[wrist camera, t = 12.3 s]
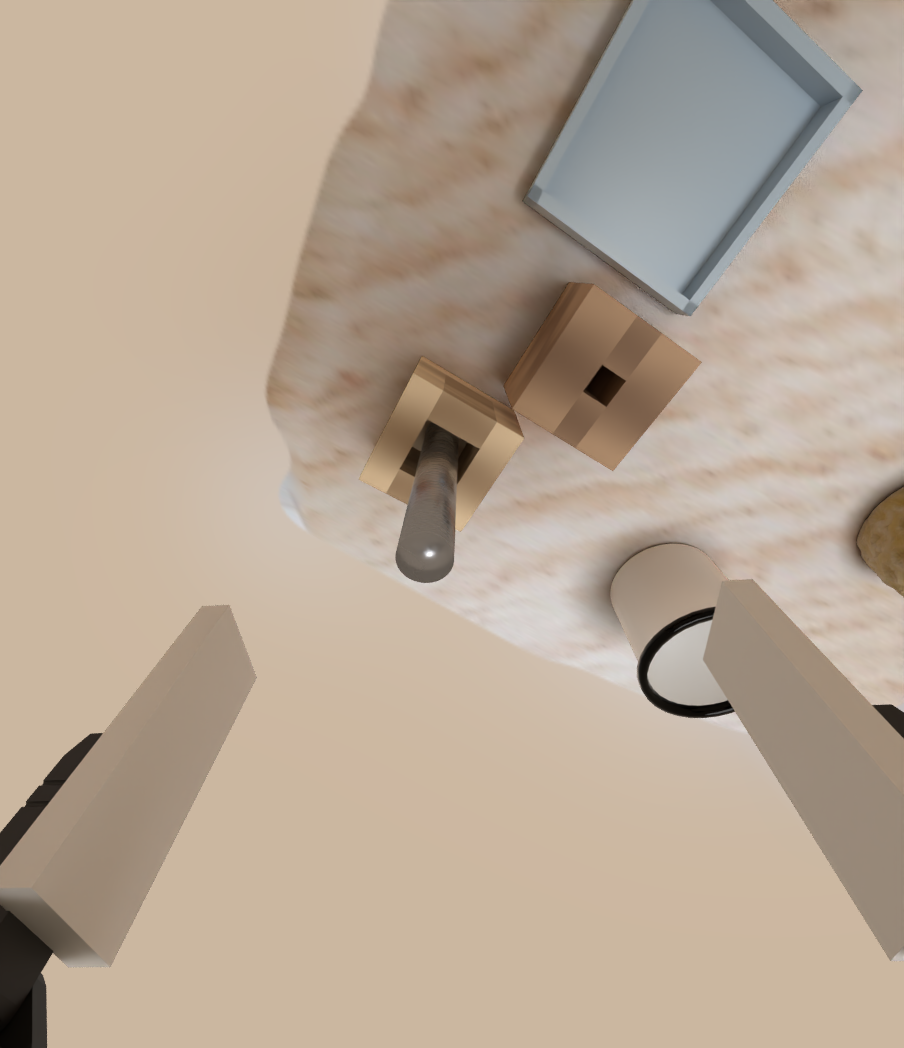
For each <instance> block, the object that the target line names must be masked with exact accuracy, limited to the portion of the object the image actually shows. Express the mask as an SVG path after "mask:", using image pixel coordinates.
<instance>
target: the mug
mask: <svg viewBox="0 0 904 1048" xmlns="http://www.w3.org/2000/svg"><path fill="white" fill-rule="evenodd" d="M722 581H729V580H728V579H727V578H726V576H725V575H724V574H723V573H722V572H721V571H720V569H719V568H718V567H717V566H716V565H715V564H714V563H713V561H712V560H711V559H710V558H709V557H708V556H707V554H705V553H704V552H702V551H701V550H699V549H697V548H695V547H692V546H689V545H684V544H664V545H658V546H655V547H652V548H648V549H646V550H644V551H642V552H640V553H638V554H636V555H635V556H634V557H632V558H631V559H629V560H628V561H627V562H626V563H625V564H624V565H623V566H622V567H621V568H620V570H619V571H618V572H617V574H616V575H615V578H614V580H613V582H612V585H611V590H610V597H611V602H612V606H613V608H614V610H615V613H616V615H617V617H618V619H619V621H620V623H621V626H622V628H623V630H624V632H625V634H626V637H627V639H628V641H629V643H630V645H631V647H632V650H633V652H634V654H635V656H636V658H637V661H638V665H637V679H638V682H639V685H640V688H641V689H642V691H643V693H644V694H645V696H646V697H647V699H648V700H649V701H650V702H651V703H652V704H654V706H656V707H657V708H659V709H661V710H663V711H665V712H667V713H670V714H673V715H677V716H682V717H688V718H707V717H716V716H721V715H725V714H729V713H732V712H735V711H734V709H733V707H732V706H731V704H730V703H729V701H728V699H727V698H726V696H725V695H724V693H723V691H722V690H721V688H720V686H719V685H718V683H717V682H716V680H715V678H714V677H713V675H712V674H711V672H710V670H709V669H708V667H707V666H706V664H705V662H704V661H703V656H704V652H705V648H706V644H707V640H708V636H709V632H710V628H711V624H712V620H713V616H714V612H715V608H716V604H717V600H718V596H719V592H720V588H721V583H722Z"/></svg>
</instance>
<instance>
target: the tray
mask: <svg viewBox="0 0 904 1048" xmlns="http://www.w3.org/2000/svg"><path fill="white" fill-rule="evenodd" d="M862 91H863V90H862V89H861V88H860V87H859V86H858V85H857V84H856V83H855V82H854V81H853V80H852V79H851V78H850V77H849V76H848V75H847V74H846V73H845V72H844V71H843V70H842V69H841V68H840V67H839V66H838V65H837V64H836V63H835V62H834V61H833V60H832V59H831V58H830V57H829V56H828V55H827V54H826V53H825V52H824V51H823V50H822V49H821V48H820V47H819V46H818V45H817V44H816V43H815V42H814V41H813V40H812V39H811V38H810V37H809V36H808V35H807V34H806V33H805V32H804V31H803V30H802V29H801V28H800V27H799V26H798V25H797V24H796V23H795V22H794V21H793V20H792V19H791V18H790V17H789V16H788V15H787V14H786V13H785V12H784V11H783V10H782V9H781V8H780V7H779V6H778V5H777V4H776V3H775V2H774V1H773V0H632V1H631V3H630V4H629V6H628V8H627V10H626V12H625V14H624V16H623V17H622V19H621V21H620V23H619V25H618V27H617V28H616V30H615V32H614V34H613V36H612V38H611V39H610V41H609V43H608V45H607V47H606V49H605V51H604V52H603V54H602V56H601V58H600V60H599V62H598V63H597V65H596V67H595V69H594V71H593V73H592V74H591V76H590V78H589V80H588V82H587V84H586V86H585V87H584V89H583V91H582V93H581V95H580V97H579V98H578V100H577V102H576V104H575V106H574V108H573V109H572V111H571V113H570V115H569V117H568V119H567V121H566V122H565V124H564V126H563V128H562V130H561V132H560V133H559V135H558V137H557V139H556V141H555V143H554V144H553V146H552V148H551V150H550V152H549V154H548V156H547V157H546V159H545V161H544V163H543V165H542V167H541V168H540V170H539V172H538V174H537V176H536V178H535V179H534V181H533V183H532V185H531V187H530V189H529V191H528V192H527V194H526V196H525V198H524V200H523V202H524V203H526V204H527V205H529V206H530V207H531V208H533V209H534V210H535V211H537V212H538V213H539V214H541V215H542V216H543V217H545V218H546V219H548V220H549V221H550V222H552V223H553V224H554V225H556V226H557V227H558V228H560V229H561V230H563V231H564V232H565V233H567V234H568V235H569V236H571V237H572V238H573V239H575V240H576V241H578V242H579V243H580V244H582V245H583V246H584V247H586V248H587V249H588V250H590V251H591V252H593V253H594V254H595V255H597V256H598V257H599V258H601V259H602V260H603V261H605V262H606V263H607V264H609V265H610V266H612V267H613V268H614V269H616V270H617V271H618V272H620V273H621V274H622V275H624V276H625V277H627V278H628V279H629V280H631V281H632V282H633V283H635V284H636V285H637V286H639V287H640V288H642V289H643V290H644V291H646V292H647V293H648V294H650V295H651V296H652V297H654V298H655V299H657V300H658V301H659V302H661V303H662V304H663V305H665V306H666V307H667V308H669V309H670V310H671V311H673V312H674V313H676V314H680V315H685V316H691V315H692V313H693V312H694V311H695V309H696V308H697V307H698V306H699V304H700V303H701V302H702V300H703V299H704V298H705V296H706V295H707V294H708V292H709V291H710V290H711V289H712V287H713V286H714V285H715V283H716V282H717V281H718V279H719V278H720V277H721V275H722V274H723V273H724V271H725V270H726V269H727V268H728V266H729V265H730V264H731V262H732V261H733V260H734V258H735V257H736V256H737V254H738V253H739V252H740V250H741V249H742V248H743V247H744V245H745V244H746V243H747V241H748V240H749V239H750V237H751V236H752V235H753V233H754V232H755V231H756V230H757V228H758V227H759V226H760V224H761V223H762V222H763V220H764V219H765V218H766V216H767V215H768V214H769V212H770V211H771V210H772V209H773V207H774V206H775V205H776V203H777V202H778V201H779V199H780V198H781V197H782V195H783V194H784V193H785V192H786V190H787V189H788V188H789V186H790V185H791V184H792V182H793V181H794V180H795V178H796V177H797V176H798V174H799V173H800V172H801V171H802V169H803V168H804V167H805V165H806V164H807V163H808V161H809V160H810V159H811V157H812V156H813V155H814V153H815V152H816V151H817V150H818V148H819V147H820V146H821V144H822V143H823V142H824V140H825V139H826V138H827V136H828V135H829V134H830V133H831V131H832V130H833V129H834V127H835V126H836V125H837V123H838V122H839V121H840V119H841V118H842V117H843V115H844V114H845V113H846V112H847V110H848V109H849V108H850V106H851V105H852V104H853V102H854V101H855V100H856V98H857V97H858V96H859V95H860V93H861V92H862Z"/></svg>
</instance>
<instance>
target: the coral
mask: <svg viewBox="0 0 904 1048" xmlns="http://www.w3.org/2000/svg"><path fill="white" fill-rule="evenodd" d="M856 544H857V546H858V547H859V549H860V550H861V557H862V558H863V559H864V560H865V562H866V564H867V565H868V566H869V567H870V568H871V569H872V570H873V571H874V572H875V573H876V574H877V576H878V577H880V578H881V580H882V581H883V582H884V583H885V584H886V585H888V586H890V587H892V588H894V589H895V590H896V591H897V592H898V593H899V594H901V595H902V596H903V597H904V487H902V488H901V489H899V490H898V491H896V492H894V493H893V494H891V495H890V496H889V497H887V498H886V499H885V500H884V501H883V502H881V503H880V504H879V505H878V506H877V507H876V508H875V509H874V510H873V511H872V513H871V514H870V516H869V517H868V518H867V519H866V520H865V522H864V523H863V525H862V527H861V530H860V532H859V535H858V537H857V543H856Z"/></svg>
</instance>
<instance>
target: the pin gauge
mask: <svg viewBox="0 0 904 1048" xmlns="http://www.w3.org/2000/svg"><path fill="white" fill-rule="evenodd" d="M458 444H459V437H458V436H456V435H454V434H452V433H451V432H449V431H447V430H445V429H444V428H442V427H440V426H438V425H436V424H435V423H433V422H431V423H430V424H429V425H428V427H427V429H426V432H425V436H424V441H423V445H422V449H421V453H420V457H419V461H418V465H417V469H416V473H415V477H414V481H413V485H412V490H411V494H410V498H409V502H408V506H407V510H406V514H405V518H404V522H403V526H402V530H401V534H400V538H399V543H398V547H397V551H396V563H397V566H398V568H399V569H400V571H401V572H402V573H403V574H404V575H405V576H406V577H408V578H409V579H411V580H414V581H417V582H421V583H430V582H435V581H438V580H440V579H442V578H444V577H445V576H446V575H447V574H448V573H449V572H450V571H451V569H452V567H453V563H454V546H455V520H456V495H457V469H458Z"/></svg>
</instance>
